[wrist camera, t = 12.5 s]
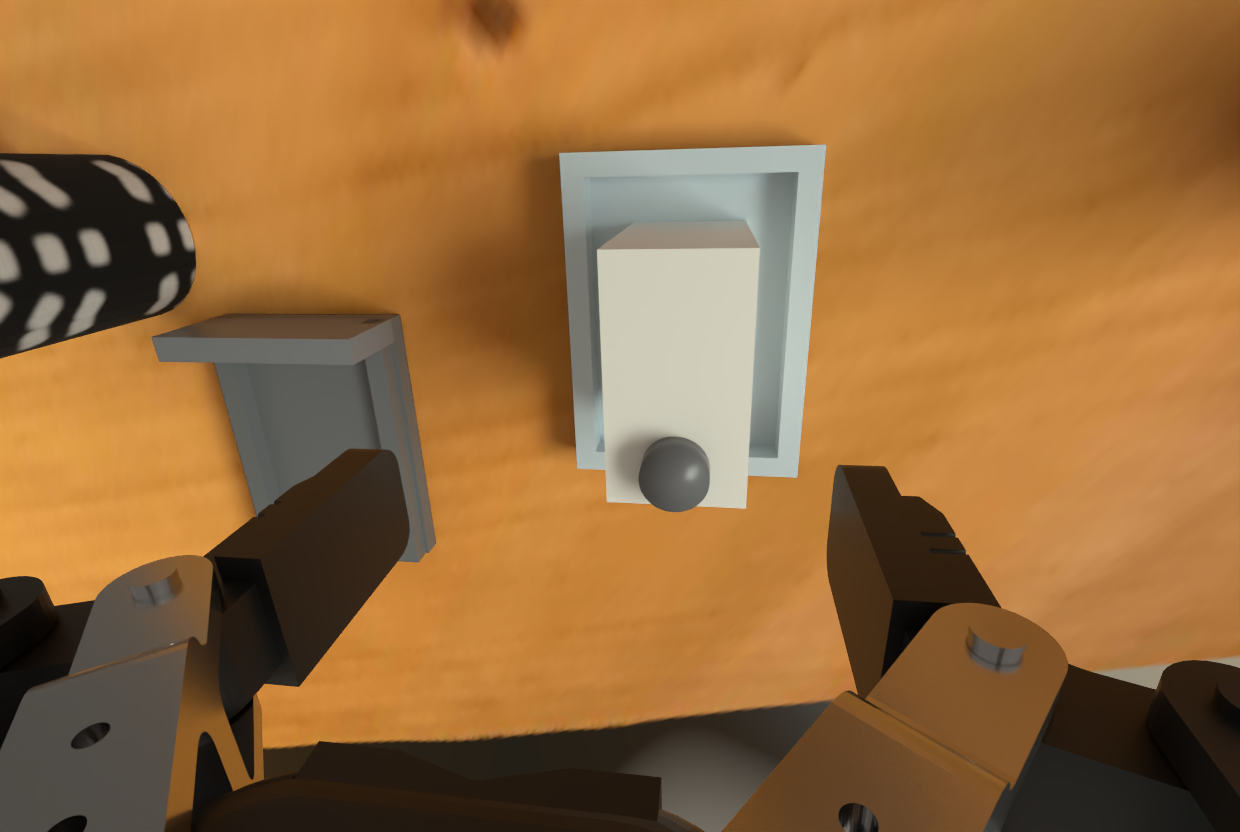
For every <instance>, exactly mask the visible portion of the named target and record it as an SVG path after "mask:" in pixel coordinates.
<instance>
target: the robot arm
mask: <svg viewBox="0 0 1240 832" xmlns="http://www.w3.org/2000/svg"><path fill="white" fill-rule="evenodd" d="M409 533H410V523H409V517H408V512H407V507H406V501H405V496H404V491H403V486H402V480H401V475H400V470H399V465H398V461H397V458H396V456H395V454H394V453H393V452H392V451H391V450H385V449H354V448H351V449H348V450H346V451H345V452H343V453H342V454H341V455H340V456H338V457H337V458H336V459H335V460H333V461H332V462H331V463H330V464H328V465H327V466H326V467H324V468H323V469H322V470H321V471H319V472H318V473H317V474H316V475H314V476H313V477H311V478H309V479H307V480H304V481H302V482H300V483H298V484H296V485H294V486H293V487H291V488H290V489H289V490H288V491H286V492H285V493H284V494H282V495H281V496H280V497H279V498H277V499H276V500H275V501H274V504H270V505H268V506H267V507H266V508H265V509H263V510H262V511H261V512H259V513H258V517H253V518H252V519H251V520H249V521H248V522H247V523H245V524H244V525H243V526H242V527H240V528H239V529H238V530H236V531H235V532H234V533H233V534H231V535H230V536H229V537H228V538H226V539H225V540H224V541H222V542H221V543H220V544H219V545H217V546H216V547H215V548H214V549H212V550H211V551H210V552H208V553H207V554H206V555H205V556H203V557H202V556H196V555H183V556H175V557H169V558H165V559H160V560H157V561H154V562H151V563H148V564H145V565H142V566H140V567H138V568H135V569H133V570H131V571H129V572H127V573H125V574H123V575H122V576H120V577H118V578H117V579H115V580H114V581H112V582H111V583H110V584H108V585H107V586H106V587H105V588H104V589H103V590H102V591H101V592H100V593H99V594H98V596H97V597H96V599H95V600H94V601H87V602H80V603H73V604H66V605H59V606H54V605H53V603H52V601H51V599H50V596H49V594H48V592H47V590H46V588H45V586H44V584H43V582H42V581H41V580H40V579H38V578H35V577H29V576H18V577H10V578H4V579H0V832H704V831H703V830H701V829H700V828H699V827H697V826H695V825H693V824H691V823H689V822H688V821H686V820H684V819H682V818H680V817H679V816H676V815H674V814H671V813H669V812H666V811H664V810H662V797H661V796H662V794H661V793H662V791H661V778H660V777H651V776H642V775H633V774H624V773H614V772H604V771H595V770H586V769H576V768H569V769H560V770H553V771H545V772H538V773H530V774H523V775H515V776H507V777H500V778H492V779H484V780H475V779H470V778H466V777H464V776H462V775H459V774H457V773H454V772H452V771H449V770H447V769H445V768H442V767H440V766H437V765H435V764H432V763H430V762H427V761H425V760H422V759H420V758H418V757H415V756H412V755H410V754H408V753H405V752H403V751H400V750H397V749H389V748H379V747H370V746H360V745H351V744H342V743H332V742H323V741H319V742H318V744H317V745H316V747H315V748H314V750H313V751H312V752H311V754H310V755H309V757H308V758H307V760H306V761H305V763H304V765H303V766H302V768H301V769H300V770H299V771H298V772H291V773H287V774H282V775H279V776H275V777H270V778H267V779H264V780H263V744H262V710H261V705H260V702H259V699H258V696H257V692H258V691H259V689H260V688H261V687H262V686H263V685H264V684H274V685H285V686H296V687H299V686H300V685H301V684H302V682H303V681H304V680H305V679H306V677H307V676H308V675H309V674H310V672H311V671H312V670H313V668H314V667H315V666H316V665H317V663H318V662H319V661H320V660H321V658H322V657H323V656H324V654H325V653H326V652H327V651H328V649H329V648H330V647H331V646H332V644H333V643H334V642H335V640H336V639H337V638H338V637H339V635H340V634H341V633H342V631H343V630H344V629H345V628H346V626H347V625H348V624H349V623H350V621H351V620H352V619H353V617H354V616H355V615H356V614H357V612H358V611H359V610H360V609H361V607H362V606H363V605H364V603H365V602H366V601H367V600H368V598H369V597H370V596H371V595H372V593H373V592H374V591H375V589H376V588H377V587H378V586H379V584H380V583H381V582H382V581H383V579H384V578H385V577H386V575H387V574H388V573H389V572H390V570H391V569H392V568H393V567H394V565H395V564H396V563H397V561H398V560H399V559H400V558H401V556H402V555H403V553H404V551H405V549H406V547H407V544H408V540H409ZM827 571H828V578H829V583H830V587H831V591H832V595H833V599H834V602H835V606H836V610H837V614H838V618H839V622H840V626H841V630H842V634H843V637H844V641H845V645H846V649H847V653H848V657H849V661H850V665H851V669H852V673H853V676H854V680H855V684H856V688H857V692H858V695H857V694H855V693H854V692H852V691H845V692H843V693H841V694H840V695H839V696H838V697H836V699H835V700H834V701H833V702H832V703H831V704H830V705H829V706H828V707H827V709H826V710H825V711H824V712H823V713H822V714H821V716H820V717H819V718H818V719H817V720H816V722H815V723H814V724H813V725H812V726H811V727H810V729H809V730H808V731H807V732H806V733H805V734H804V736H803V737H802V738H801V739H800V740H799V742H798V743H797V744H796V745H795V746H794V747H793V748H792V750H791V751H790V752H789V753H788V755H787V756H786V757H785V758H784V759H783V760H782V761H781V762H780V764H779V765H778V766H777V767H776V769H775V770H774V771H773V772H772V773H771V774H770V775H769V777H768V778H767V779H766V780H765V781H764V782H763V784H762V785H761V786H760V787H759V788H758V789H757V791H756V792H755V793H754V794H753V795H752V796H751V798H750V799H749V800H748V801H747V802H746V804H745V805H744V806H743V807H742V808H741V809H740V810H739V812H738V813H737V814H736V815H735V816H734V818H733V819H732V820H731V821H730V822H729V823H728V825H727V826H726V827H725V828H724V829H723V830H722V832H1240V668H1238V667H1234V666H1230V665H1226V664H1222V663H1216V662H1210V661H1198V660H1191V661H1182V662H1178V663H1174V664H1172V665H1170V666H1169V667H1167V668H1166V669H1165V670H1164V671H1163V673H1162V676H1161V679H1160V681H1159V684H1158V686H1157V689H1156V690H1155V689H1151V688H1147V687H1144V686H1140V685H1137V684H1133V683H1129V682H1126V681H1122V680H1118V679H1114V678H1111V677H1108V676H1104V675H1100V674H1097V673H1093V672H1090V671H1087V670H1084V669H1081V668H1078V667H1075V666H1073V665H1070V664H1068V660H1067V658H1066V655H1065V652H1064V651H1063V649H1062V648H1061V646H1060V645H1059V644H1058V642H1057V641H1056V640H1055V639H1054V638H1053V637H1052V636H1051V635H1050V634H1049V633H1047V632H1046V631H1045V630H1044V629H1042V628H1041V627H1040V626H1038V625H1037V624H1035V623H1033V622H1032V621H1030V620H1028V619H1026V618H1025V617H1022V616H1020V615H1018V614H1016V613H1013V612H1011V611H1008V610H1005V609H1002V608H1001V606H1000V605H999V603H998V602H997V600H996V598H995V597H994V595H993V594H992V592H991V590H990V589H989V587H988V585H987V584H986V582H985V581H984V579H983V577H982V576H981V574H980V573H979V571H978V569H977V568H976V566H975V564H974V563H973V561H972V560H971V558H970V556H969V555H966V550H965V548H964V547H963V545H962V544H961V542H960V540H959V539H958V538H956V537H955V532H954V531H953V529H952V527H951V526H950V524H949V523H948V521H947V519H946V518H945V516H944V515H943V513H941V512H940V511H938V510H937V509H936V508H934V507H933V506H931V505H930V504H929V503H927V502H926V501H925V500H923V499H922V498H920V497H917V496H901V495H900V493H899V491H898V489H897V487H896V485H895V483H894V482H893V480H892V478H891V476H890V474H889V472H888V470H887V469H886V467H884V466H857V465H838V466H837V468H836V471H835V476H834V484H833V494H832V503H831V512H830V522H829V531H828V541H827Z"/></svg>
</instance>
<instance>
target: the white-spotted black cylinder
mask: <svg viewBox="0 0 1240 832" xmlns="http://www.w3.org/2000/svg"><path fill="white" fill-rule="evenodd" d="M195 268H196V259H195V248H194V243H193V239H192V234H191V232H190V229H189V227H188V224H187V222H186V219H185V217H184V215H183V214H182V212H181V210H180V208H179V207H178V205H177V203H176V202H175V201H174V199H173V198H172V197H171V195H170V194H169V193H168V192H167V190H166V189H165V188H164V187H163V186H162V185H161V184H160V183H159V182H158V181H157V180H156V179H155V178H154V177H153V176H151V175H150V174H148V173H147V172H145V171H144V170H143V169H141V168H140V167H138V166H136V165H134V164H132V163H130V162H128V161H126V160H124V159H121V158H117V157H113V156H109V155H86V154H9V153H0V358H3V357H7V356H11V355H14V354H18V353H22V352H25V351H29V350H33V349H36V348H40V347H44V346H47V345H51V344H55V343H58V342H62V341H66V340H69V339H73V338H77V337H80V336H84V335H88V334H91V333H95V332H98V331H102V330H106V329H109V328H113V327H117V326H120V325H124V324H128V323H131V322H135V321H139V320H142V319H146V318H150V317H153V316H157V315H161V314H163V313H166V312H168V311H170V310H172V309H174V308H175V307H176V306H177V305H179V304H180V303H181V302H182V301H183V300H184V298H185V297H186V295H187V294H188V293H189V291H190V288H191V285H192V283H193V280H194V275H195Z"/></svg>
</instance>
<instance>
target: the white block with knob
mask: <svg viewBox="0 0 1240 832" xmlns="http://www.w3.org/2000/svg"><path fill="white" fill-rule="evenodd" d="M759 257H760V247H759V245H758V243H757V241H756V239H755V237H754V235H753V234H752V232H751V230H750V228H749V226H748V224H747V222H746V220H723V221H661V222H634V223H633V224H631V225H630V226H629V227H627V228H626V229H624V230H623V231H622V232H620V233H619V234H618V235H616V236H615V237H614V238H612V239H611V240H609V241H608V242H607V243H605V244H604V245H603V246H601V247H600V248H599V249H597V263H598V289H599V314H600V339H601V365H602V390H603V416H604V441H605V467H606V492H607V502H620V503H641V504H652V505H654V506H655V507H657V508H659V509H662V510H664V511H669V512H682V511H686V510H689V509H692V508H694V507H695V506H705V507H726V508H746V496H747V478H748V459H749V441H750V422H751V404H752V386H753V367H754V349H755V330H756V312H757V293H758V275H759Z"/></svg>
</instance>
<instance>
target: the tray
mask: <svg viewBox="0 0 1240 832" xmlns="http://www.w3.org/2000/svg"><path fill="white" fill-rule="evenodd" d="M825 154H826V145H798V146H766V147H735V148H703V149H671V150H640V151H608V152H576V153H559V158H560V175H561V193H562V210H563V227H564V245H565V262H566V280H567V297H568V315H569V332H570V349H571V367H572V384H573V402H574V419H575V437H576V454H577V469H599V470H606V467H605V441H604V416H603V390H602V365H601V339H600V314H599V289H598V263H597V249H599V248H600V247H601V246H603V245H604V244H605V243H607V242H608V241H609V240H611V239H612V238H614V237H615V236H616V235H618V234H619V233H620V232H622V231H623V230H624V229H626V228H627V227H629V226H630V225H631V224H633V223H634V222H661V221H723V220H746V222H747V224H748V226H749V228H750V230H751V232H752V234H753V235H754V237H755V239H756V241H757V243H758V245H759V247H760V257H759V275H758V293H757V312H756V330H755V349H754V367H753V386H752V404H751V422H750V441H749V459H748V476H773V477H797V474H798V462H799V451H800V440H801V428H802V417H803V405H804V394H805V382H806V371H807V360H808V348H809V337H810V325H811V314H812V303H813V291H814V280H815V268H816V257H817V246H818V234H819V223H820V211H821V200H822V188H823V177H824V166H825Z"/></svg>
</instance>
